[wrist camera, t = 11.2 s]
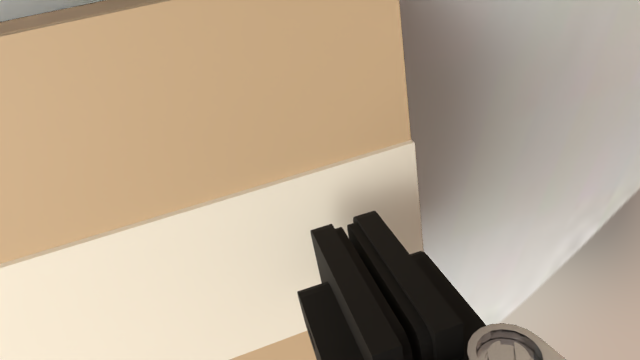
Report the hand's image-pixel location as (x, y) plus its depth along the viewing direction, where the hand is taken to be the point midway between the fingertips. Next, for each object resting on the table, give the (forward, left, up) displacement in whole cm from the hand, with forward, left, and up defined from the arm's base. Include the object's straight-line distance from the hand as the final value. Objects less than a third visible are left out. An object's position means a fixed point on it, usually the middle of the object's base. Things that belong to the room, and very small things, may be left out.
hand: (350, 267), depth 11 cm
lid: (+4, 0, -2) cm, 5 cm away
